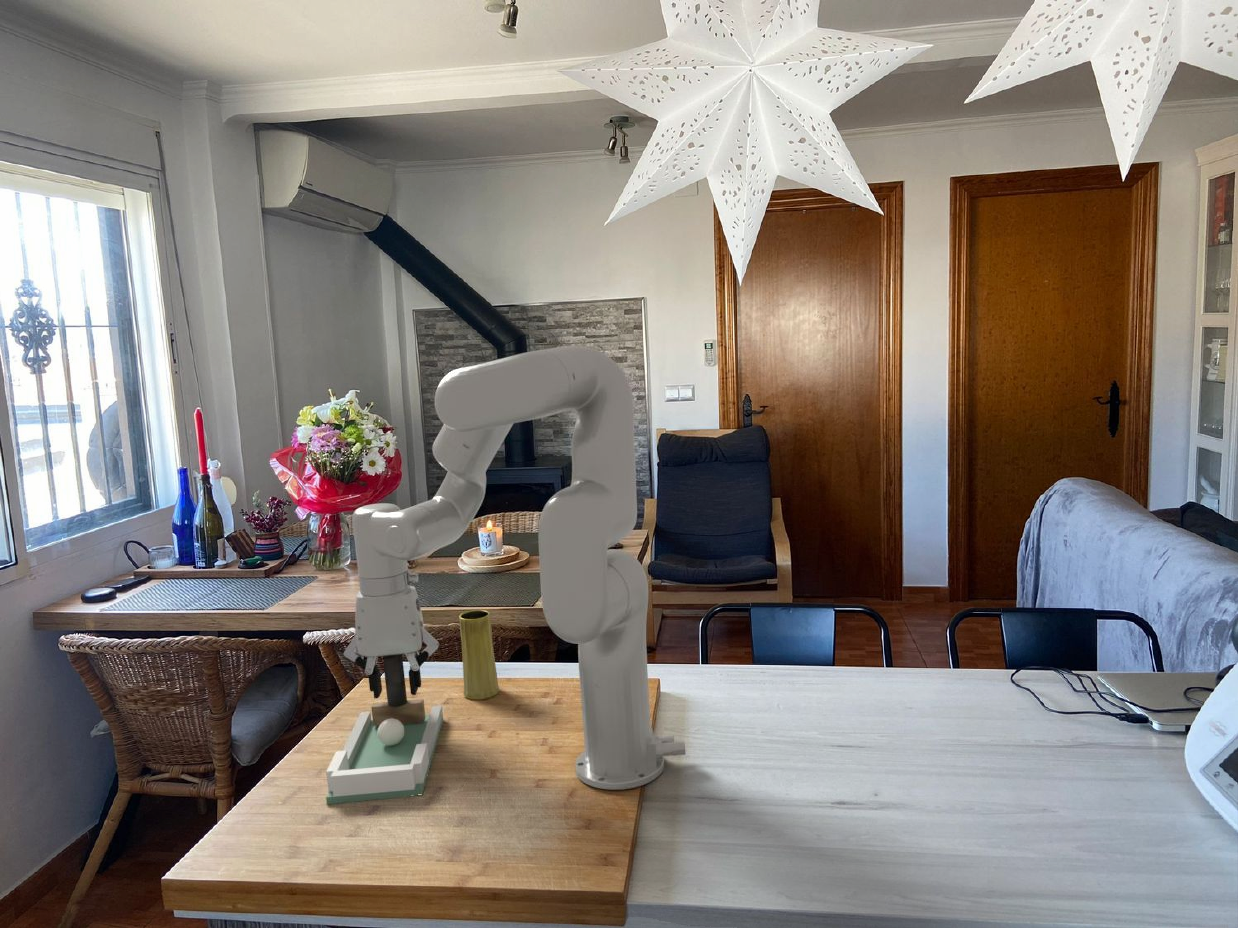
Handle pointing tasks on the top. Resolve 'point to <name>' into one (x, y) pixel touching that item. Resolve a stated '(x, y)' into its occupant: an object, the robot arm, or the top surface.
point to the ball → (390, 732)
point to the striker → (397, 696)
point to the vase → (478, 655)
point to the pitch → (383, 761)
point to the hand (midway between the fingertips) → (396, 692)
